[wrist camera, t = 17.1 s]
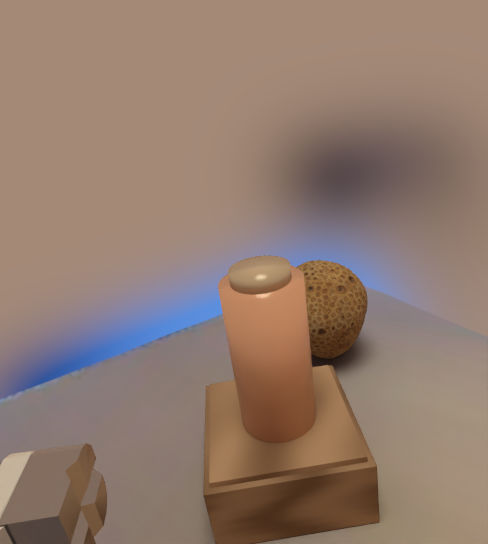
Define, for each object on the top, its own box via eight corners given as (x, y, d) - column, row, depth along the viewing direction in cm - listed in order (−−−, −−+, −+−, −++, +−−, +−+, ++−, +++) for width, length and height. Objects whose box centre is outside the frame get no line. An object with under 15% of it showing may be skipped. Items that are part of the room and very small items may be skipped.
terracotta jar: (243, 448, 27) (215, 293, 23) (240, 395, 32) (216, 258, 27) (323, 436, 27) (310, 279, 23) (308, 385, 32) (295, 246, 27)
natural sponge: (271, 383, 40) (257, 286, 37) (281, 332, 48) (270, 248, 45) (373, 382, 38) (368, 280, 35) (366, 329, 46) (362, 241, 43)
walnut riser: (217, 549, 26) (202, 490, 25) (216, 431, 36) (204, 382, 34) (379, 522, 27) (376, 460, 25) (336, 411, 36) (331, 361, 34)
